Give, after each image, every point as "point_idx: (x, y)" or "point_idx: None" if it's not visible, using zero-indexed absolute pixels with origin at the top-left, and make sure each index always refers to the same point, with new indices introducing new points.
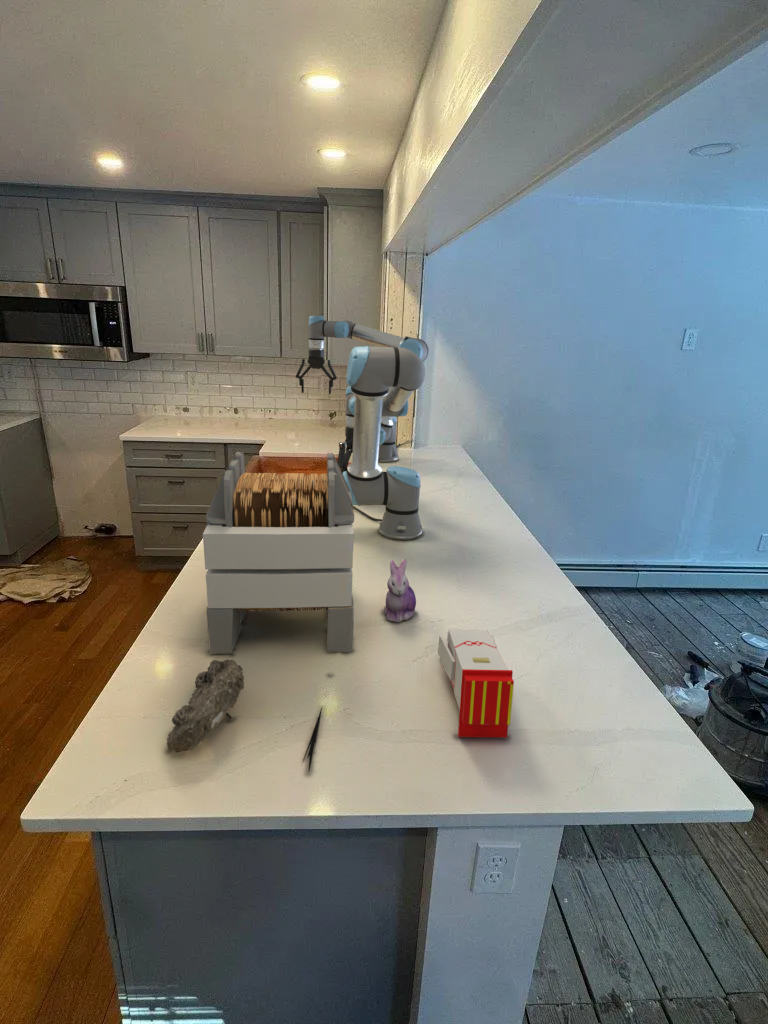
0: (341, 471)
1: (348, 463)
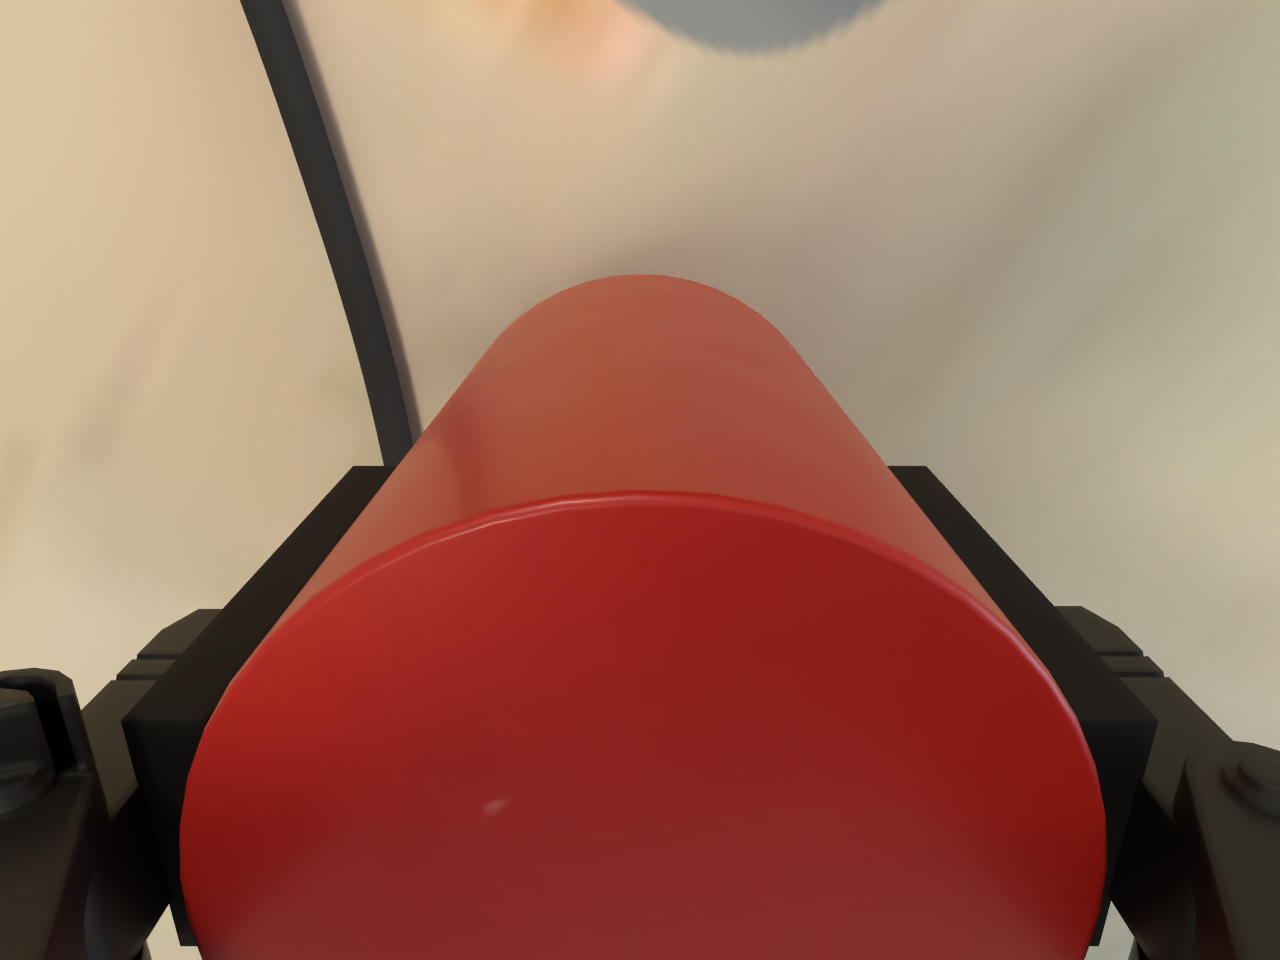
0: (96, 708)
1: (518, 657)
